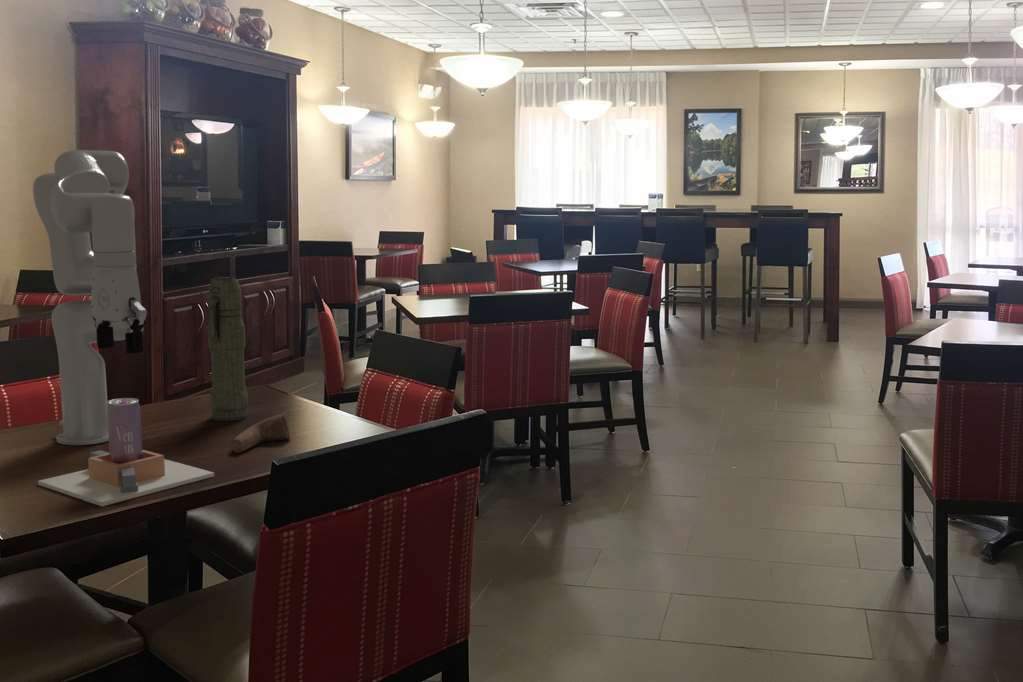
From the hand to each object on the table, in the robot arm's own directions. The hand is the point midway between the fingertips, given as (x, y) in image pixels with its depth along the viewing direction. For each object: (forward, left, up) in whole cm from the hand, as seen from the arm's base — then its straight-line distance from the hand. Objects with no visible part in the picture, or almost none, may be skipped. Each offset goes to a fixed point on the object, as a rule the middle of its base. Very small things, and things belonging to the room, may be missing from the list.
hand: (120, 350), depth 191 cm
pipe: (-1, +34, -26) cm, 43 cm away
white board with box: (0, 0, -26) cm, 26 cm away
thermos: (-30, +47, -26) cm, 61 cm away
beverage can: (0, 0, -25) cm, 25 cm away
